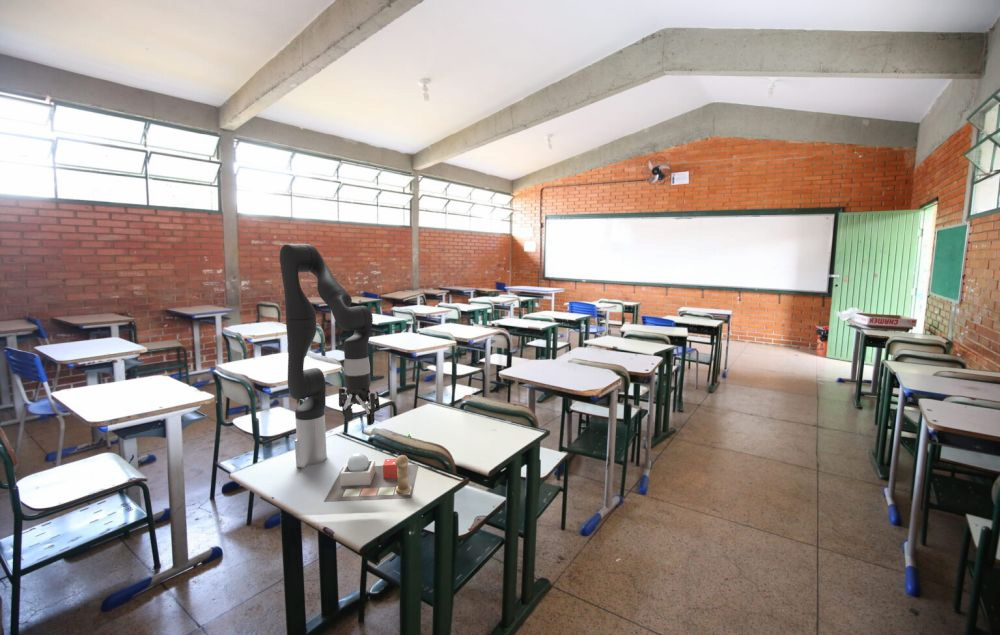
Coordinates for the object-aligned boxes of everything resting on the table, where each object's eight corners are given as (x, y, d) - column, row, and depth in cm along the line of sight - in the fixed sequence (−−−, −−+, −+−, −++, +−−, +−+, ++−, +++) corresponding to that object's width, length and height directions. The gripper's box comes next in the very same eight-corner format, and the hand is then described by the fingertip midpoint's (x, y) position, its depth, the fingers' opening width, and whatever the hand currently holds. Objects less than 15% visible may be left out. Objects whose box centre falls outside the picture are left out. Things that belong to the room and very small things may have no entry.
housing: (341, 485, 144) (340, 473, 143) (347, 472, 152) (347, 460, 152) (370, 484, 144) (369, 472, 144) (375, 471, 153) (375, 459, 152)
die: (383, 478, 148) (382, 465, 148) (385, 472, 153) (385, 458, 152) (397, 477, 149) (397, 464, 148) (399, 471, 153) (398, 458, 152)
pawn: (395, 494, 138) (393, 458, 137) (396, 487, 142) (395, 452, 141) (409, 493, 139) (408, 458, 137) (410, 486, 143) (409, 452, 141)
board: (323, 506, 135) (323, 501, 134) (343, 471, 156) (342, 466, 156) (411, 502, 137) (411, 497, 136) (418, 468, 158) (418, 464, 158)
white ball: (345, 477, 145) (344, 458, 144) (350, 468, 151) (349, 449, 150) (366, 477, 145) (365, 457, 144) (370, 467, 151) (370, 448, 151)
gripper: (383, 371, 143) (385, 422, 145) (348, 366, 149) (351, 415, 151) (366, 377, 136) (369, 430, 138) (330, 371, 142) (333, 423, 145)
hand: (359, 422), depth 145 cm, fingers open, 8 cm apart
